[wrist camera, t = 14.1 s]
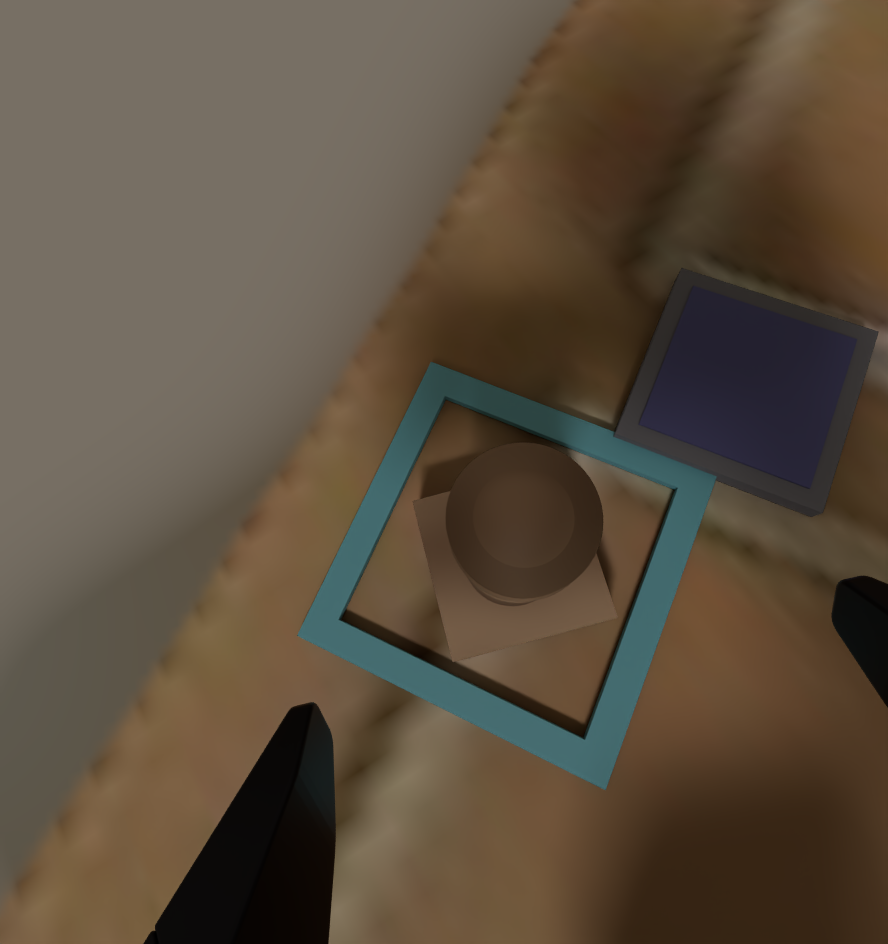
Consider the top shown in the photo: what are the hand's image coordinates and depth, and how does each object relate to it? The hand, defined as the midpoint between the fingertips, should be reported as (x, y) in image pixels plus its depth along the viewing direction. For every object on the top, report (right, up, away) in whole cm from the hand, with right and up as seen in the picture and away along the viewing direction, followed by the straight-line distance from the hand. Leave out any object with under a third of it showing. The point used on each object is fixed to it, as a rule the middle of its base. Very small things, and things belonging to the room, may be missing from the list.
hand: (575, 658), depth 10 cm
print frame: (0, 0, +13) cm, 13 cm away
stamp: (0, 0, +13) cm, 13 cm away
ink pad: (+10, +7, +14) cm, 18 cm away
